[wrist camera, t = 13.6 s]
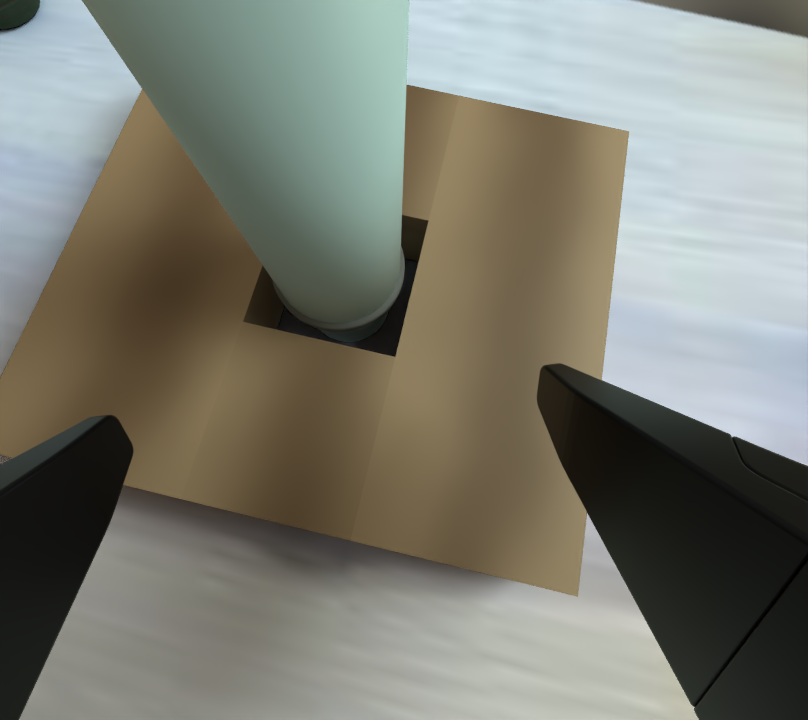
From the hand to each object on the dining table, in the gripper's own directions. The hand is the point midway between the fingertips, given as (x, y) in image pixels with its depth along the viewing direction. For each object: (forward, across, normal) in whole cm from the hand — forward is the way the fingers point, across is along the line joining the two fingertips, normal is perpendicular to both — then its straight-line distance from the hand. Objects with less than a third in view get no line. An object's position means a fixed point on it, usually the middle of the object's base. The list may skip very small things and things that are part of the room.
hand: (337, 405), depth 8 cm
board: (+8, 0, +1) cm, 8 cm away
